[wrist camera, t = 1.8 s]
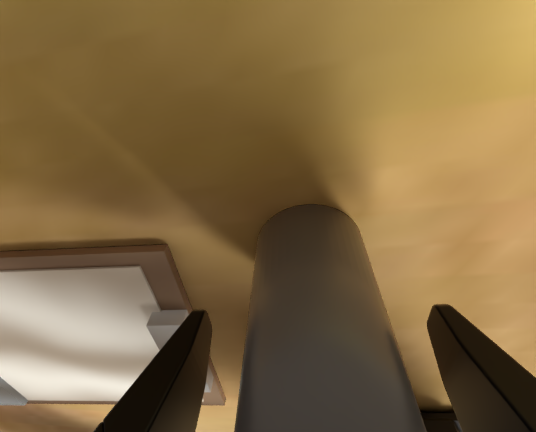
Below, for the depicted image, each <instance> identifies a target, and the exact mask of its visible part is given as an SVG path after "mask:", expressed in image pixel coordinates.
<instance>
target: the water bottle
mask: <svg viewBox="0 0 536 432" xmlns="http://www.w3.org/2000/svg"><path fill="white" fill-rule="evenodd" d="M234 432H427V431H426V428H425V425H424V422H423V419H422V416H421V413H420V410H419V407H418V404H417V401H416V398H415V395H414V392H413V389H412V386H411V383H410V380H409V377H408V374H407V371H406V368H405V365H404V362H403V359H402V356H401V353H400V350H399V347H398V344H397V341H396V338H395V335H394V332H393V329H392V326H391V323H390V320H389V317H388V314H387V311H386V308H385V305H384V302H383V299H382V296H381V293H380V290H379V287H378V284H377V281H376V278H375V275H374V273H373V270H372V267H371V264H370V261H369V258H368V255H367V252H366V249H365V246H364V243H363V240H362V237H361V234H360V231H359V229H358V227H357V225H356V224H355V223H354V221H353V220H352V219H351V218H350V217H349V216H347V215H346V214H344V213H343V212H341V211H339V210H337V209H334V208H331V207H328V206H324V205H315V204H308V205H299V206H295V207H291V208H288V209H285V210H283V211H281V212H279V213H278V214H276V215H275V216H273V217H272V218H271V219H270V220H268V222H267V223H266V224H265V225H264V226H263V228H262V229H261V231H260V233H259V236H258V240H257V248H256V256H255V265H254V273H253V281H252V289H251V298H250V306H249V314H248V323H247V331H246V339H245V348H244V356H243V364H242V373H241V381H240V389H239V398H238V406H237V414H236V423H235V431H234Z"/></svg>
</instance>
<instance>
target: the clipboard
mask: <svg viewBox="0 0 536 432" xmlns="http://www.w3.org/2000/svg"><path fill="white" fill-rule="evenodd" d="M191 312H192V308H191V305H190V303H189V300H188V297H187V295H186V292H185V289H184V287H183V284H182V282H181V279H180V276H179V274H178V271H177V268H176V266H175V263H174V260H173V258H172V255H171V252H170V250H169V247H168V245H167V244H165V245H142V246H119V247H96V248H72V249H49V250H26V251H3V252H0V405H26V403H28V404H117V402H118V401H119V400H120V399H121V397H122V396H123V395H124V394H125V392H126V391H127V390H128V389H129V388H130V386H131V385H132V384H133V383H134V381H135V380H136V379H137V378H138V377H139V375H140V374H141V373H142V372H143V370H144V369H145V368H146V367H147V365H148V364H149V363H150V362H151V361H152V359H153V358H154V357H155V356H156V354H157V353H158V352H159V351H160V349H161V348H162V347H163V346H164V345H165V343H166V342H167V341H168V340H169V338H170V337H171V336H172V335H173V334H174V332H175V331H176V330H177V329H178V327H179V326H180V325H181V324H182V322H183V321H184V320H185V319H186V318H187V316H188V315H189V314H190V313H191ZM225 400H226V398H225V395H224V393H223V390H222V387H221V385H220V382H219V379H218V377H217V374H216V371H215V369H214V366H213V364H212V361H211V358H210V356H209V363H208V371H207V379H206V385H205V390H204V395H203V399H202V404H201V405H225Z"/></svg>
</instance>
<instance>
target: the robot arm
mask: <svg viewBox="0 0 536 432" xmlns="http://www.w3.org/2000/svg"><path fill="white" fill-rule="evenodd" d="M427 329H428V333H429V336H430V340H431V343H432V347H433V350H434V354H435V357H436V361H437V364H438V368H439V371H440V375H441V378H442V381H443V384H444V387H445V389H446V392H447V394H448V397H449V399H450V402H451V404H452V407H453V409H454V412H455V413H421V416H422V419H423V422H424V425H425V428H426V431H427V432H536V378H535V377H534V376H533V375H532V374H531V373H529V372H528V371H527V370H526V369H525V368H524V367H522V366H521V365H520V364H519V363H518V362H517V361H515V360H514V359H513V358H512V357H511V356H509V355H508V354H507V353H506V352H505V351H504V350H502V349H501V348H500V347H499V346H498V345H497V344H495V343H494V342H493V341H492V340H491V339H490V338H488V337H487V336H486V335H485V334H484V333H482V332H481V331H480V330H479V329H478V328H477V327H475V326H474V325H473V324H472V323H471V322H470V321H468V320H467V319H466V318H465V317H464V316H462V315H461V314H460V313H459V312H458V311H457V310H455V309H454V308H453V307H452V306H450V305H448V304H436V305H434V306H432V309H431V312H430V315H429V317H428V320H427ZM211 337H212V325H211V322H210V319H209V316H208V313H207V311H206V310H193V311H192V312H191V313H190V314H189V315H188V316H187V318H186V319H185V320H184V321H183V322H182V324H181V325H180V326H179V327H178V329H177V330H176V331H175V332H174V334H173V335H172V336H171V337H170V338H169V340H168V341H167V342H166V343H165V345H164V346H163V347H162V348H161V349H160V351H159V352H158V353H157V354H156V356H155V357H154V358H153V359H152V361H151V362H150V363H149V364H148V365H147V367H146V368H145V369H144V370H143V372H142V373H141V374H140V375H139V377H138V378H137V379H136V380H135V381H134V383H133V384H132V385H131V386H130V388H129V389H128V390H127V391H126V392H125V394H124V395H123V396H122V397H121V399H120V400H119V401H118V402H117V404H116V405H115V406H114V407H113V408H112V410H111V411H110V412H109V413H108V415H107V416H106V417H105V418H104V420H103V422H101V423H100V424H99V425H98V427H97V428H96V429H95V430H94V432H195V430H196V426H197V421H198V417H199V413H200V408H201V404H202V399H203V395H204V390H205V385H206V379H207V371H208V363H209V354H210V346H211Z"/></svg>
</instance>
